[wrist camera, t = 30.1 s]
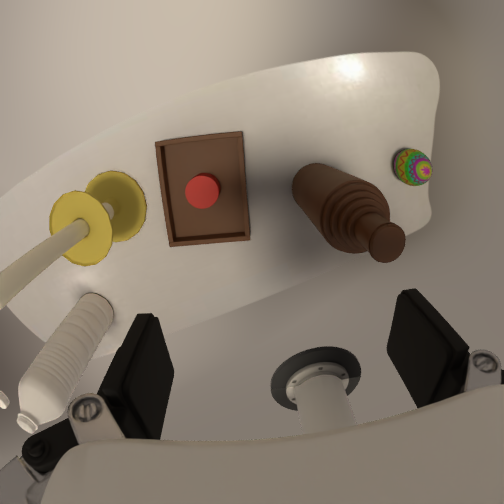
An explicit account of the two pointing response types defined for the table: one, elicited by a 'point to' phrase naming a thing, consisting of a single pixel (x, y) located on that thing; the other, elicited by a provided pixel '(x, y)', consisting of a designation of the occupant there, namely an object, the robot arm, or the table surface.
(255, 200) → the table surface
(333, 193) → the bottle
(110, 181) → the candle
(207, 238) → the tray
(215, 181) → the cap
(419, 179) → the egg
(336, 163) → the table surface
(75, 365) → the white ribbed tube
